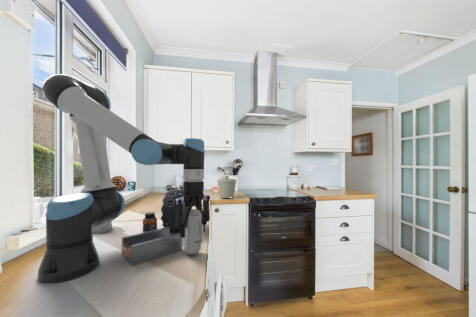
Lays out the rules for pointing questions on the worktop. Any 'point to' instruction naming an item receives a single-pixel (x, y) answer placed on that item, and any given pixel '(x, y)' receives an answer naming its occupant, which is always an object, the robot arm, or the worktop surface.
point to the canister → (226, 187)
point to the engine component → (103, 227)
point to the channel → (150, 245)
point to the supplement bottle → (149, 222)
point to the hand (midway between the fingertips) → (192, 243)
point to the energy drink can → (194, 232)
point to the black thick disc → (170, 209)
